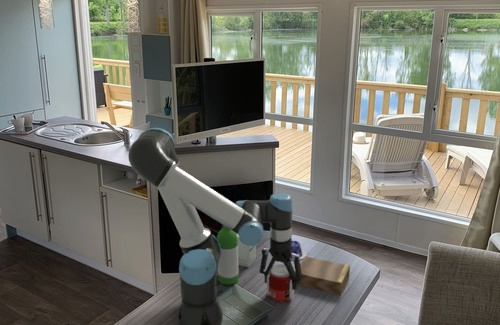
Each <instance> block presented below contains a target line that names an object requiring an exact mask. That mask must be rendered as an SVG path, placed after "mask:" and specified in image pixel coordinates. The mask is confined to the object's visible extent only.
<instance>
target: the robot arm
mask: <svg viewBox="0 0 500 325" xmlns="http://www.w3.org/2000/svg"><path fill="white" fill-rule="evenodd" d="M175 147H176V146H175V139H174V138H173V136H172V134H171V133H170V132H169V131H167V130H166V129H163V128H160V127H151V128H148V129H146V130H145V131H143V132H142V133H140V135H139V136H138V137H137V139H136V140H135V141H133V143H132V144H131V145H130V147H129V150H128V162H129V165H130V166H131V168H132V170H134V172H135V173H136V174H137V175H139V176H140V177H141V178H143V179H144V180H145V181H146V182H148V183H149V184H151V185H153V186H154V187H156V188H157V190H158V191H159V193H160V196H161V198H162V200H163V202H164V205H165V206H166V208H167V210H168V213H169V215H170V217H171V219H172V222H173V223H174V225H175V227H176V230H177V232H178V234H179V236H180V240H179V246H180V248H181V251H182V253H183V255H182V257H180V260H179V267H178V271H179V278H180V279H179V282H180V294H181V302H180V306H179V309H178V312H177V324H178V325H221V324H222V323H223V320H224V317H223V316H224V313H223V308H222V307H221V305H220V302H219V300H218V292H217V291H218V289H217V275H218V264H219V258H220V255H221V251H220V250H221V248H220V244H219V241H218V240H217V236H215V235H214V234H212V232H211V230H210V229H209V228H207V227H205V226H204V225H203V222H202V220H201V218H200V216H199V214H198V211H197V210H199V211H201V212H202V213H204V214H205V215H207V217H208V216H209V217H210V218H211V219H213V220H215V221H216V222H219V223H220V224H222V226H223V225H224V226H226V227H228V228H229V229H231V230H232V231H234V232H235V233H237V234H238V235H239V239H240V241H241V242H242V243H243V244H245V245H248V246H253V245H256V246H257V245H258V244H259V243H260V242H261V241H262V239H263V235H264V223H265V224H267V223H269V226H270V227H269V233H270V234H269V246H270V247H267V246H264V247H263V248H262V249H261V260H260V266H259V271H258V272H259V274H263V275H264V283H265V284H266V293H268V294H269V271H270V269H271V268H272V266H274V265H275V264H276V262H280V263H283V265H285V266H286V268H287V271H288V273H289V275H290V278H291V281H290V299H292V298H293V297H294V296H295V290H296V289H297V287H298V285H297V282H300V281H301V279H302V273H301V267H300V263H301V261H300V260H301V259H300V257H301V256H300V254H294V253H293V252H292V241H293V240H292V239H293V238H292V237H293V234H292V233H293V210H294V209H293V197H292V196H291V195H290V194H287V193H284V192H277V193H273V194H271V195H270V197H269V199H267V200H248V199H246V200H237V201H235V203H234V202H233V201H231V200H229V198H227V197H225V196H224V195H223V194H221V193H219V192H218V191H216V190H214V189H213V188H211V187H210V186H208V185H206V184H205V183H203V182H202V181H200V180H199V179H197V178H196V177H194V176H192V175H191V174H190V173H188V172H186V171H185V170H184V169H181V168H180V167H179V164H180V160H179V158H178V155H177V153H176V150H175ZM269 254H270V256H271V257H272V258H271V259H270V262H269V263H268V262H267V260H268V255H269ZM290 257H293V260H291V258H290ZM291 261H293V264H292V262H291ZM267 263H268V266H267ZM293 265H294V267H293ZM266 266H267V268H266Z"/></svg>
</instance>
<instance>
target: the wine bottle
mask: <svg viewBox="0 0 500 325" xmlns="http://www.w3.org/2000/svg"><path fill="white" fill-rule="evenodd" d="M217 233H218V234H217V236H216V238H217V240H218V241H219V244H220V248H221V250H220V251H221V255H220V258H219V264H218V269H217V275H218V281H219V283H220V284H223V285H225V286H227V285H228V286H231V285H234V284H236V283H237V282H238V280H239V278H240V277H239V265H238V237H237V233H235V232H234V231H232V230H231V229H229V228H228V227H226V226H224V225H223V224H222V228H221V229H220V230H219V231H218V232H217ZM233 283H234V284H233ZM230 284H231V285H230Z"/></svg>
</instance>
